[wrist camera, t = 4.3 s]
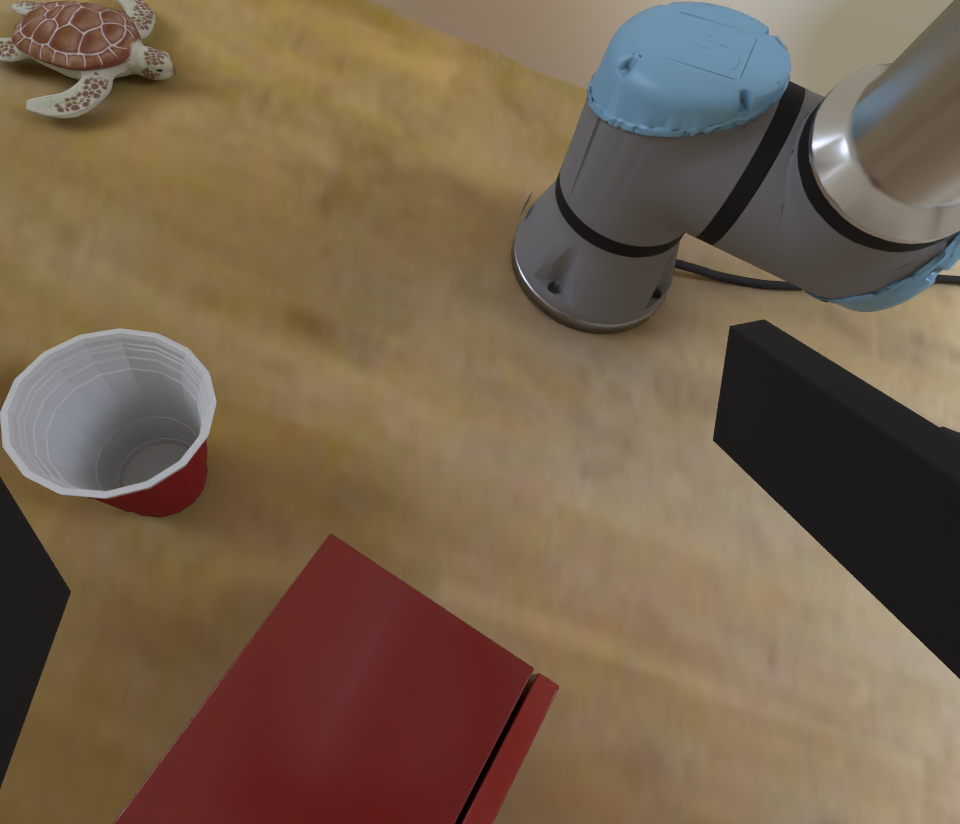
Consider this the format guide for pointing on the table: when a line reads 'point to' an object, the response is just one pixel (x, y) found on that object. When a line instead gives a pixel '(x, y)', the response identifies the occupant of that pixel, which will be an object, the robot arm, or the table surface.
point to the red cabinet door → (509, 752)
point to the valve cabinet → (341, 711)
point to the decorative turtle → (85, 49)
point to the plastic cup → (113, 421)
